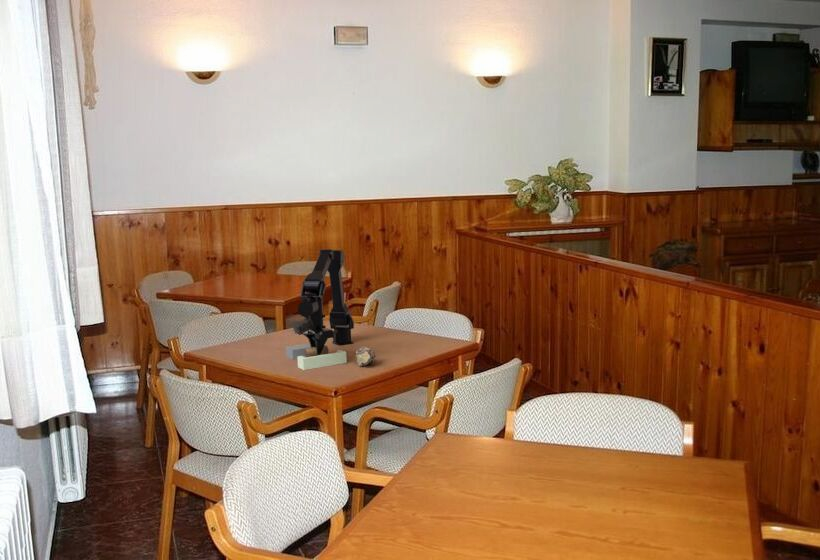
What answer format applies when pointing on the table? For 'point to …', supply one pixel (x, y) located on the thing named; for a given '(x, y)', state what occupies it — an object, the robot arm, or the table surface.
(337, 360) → the board
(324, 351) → the roller
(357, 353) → the rock
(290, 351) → the slab
